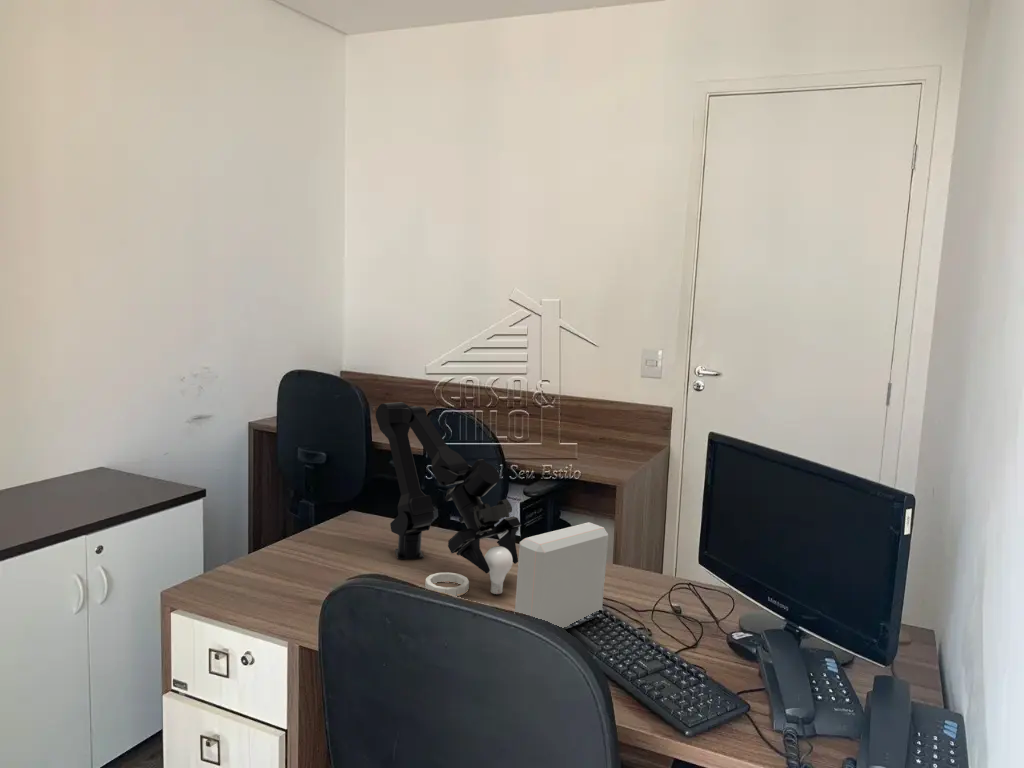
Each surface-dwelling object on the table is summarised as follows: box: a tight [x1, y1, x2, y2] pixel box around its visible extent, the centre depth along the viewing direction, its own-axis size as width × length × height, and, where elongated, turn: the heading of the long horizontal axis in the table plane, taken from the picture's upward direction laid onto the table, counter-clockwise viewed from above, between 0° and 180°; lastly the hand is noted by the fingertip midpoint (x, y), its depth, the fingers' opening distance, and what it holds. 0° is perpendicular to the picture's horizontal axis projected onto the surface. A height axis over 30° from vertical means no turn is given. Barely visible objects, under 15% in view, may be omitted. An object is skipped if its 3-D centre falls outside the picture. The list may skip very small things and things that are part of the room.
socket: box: [424, 571, 470, 596], centre depth 170 cm, size 10×10×2 cm
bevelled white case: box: [514, 521, 609, 628], centre depth 154 cm, size 21×8×20 cm, turn 133°
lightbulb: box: [484, 545, 514, 596], centre depth 168 cm, size 6×6×11 cm
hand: (502, 567), depth 167 cm, fingers open, 9 cm apart
